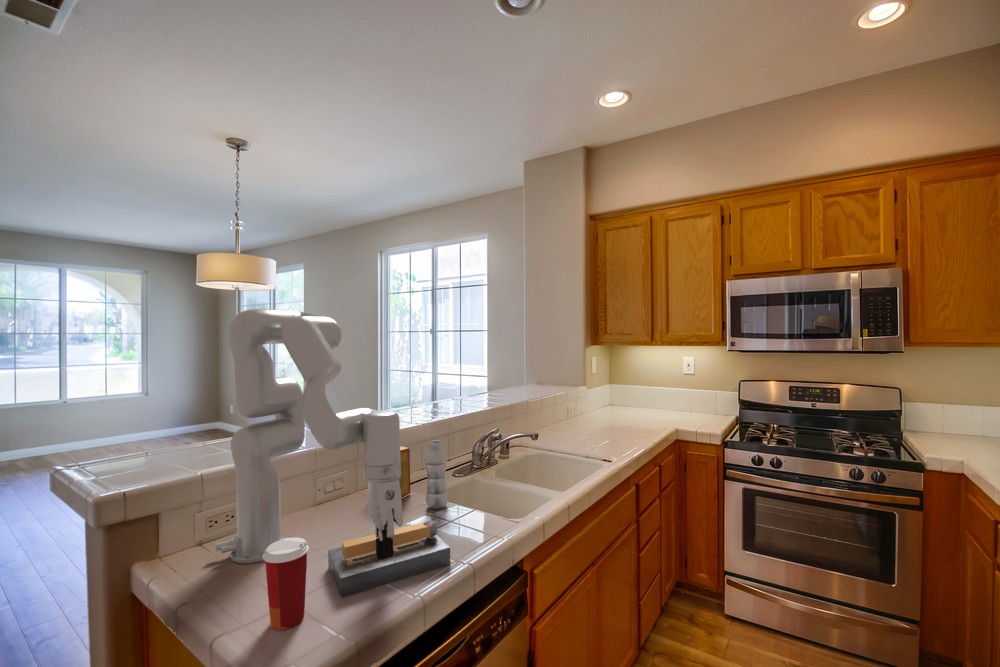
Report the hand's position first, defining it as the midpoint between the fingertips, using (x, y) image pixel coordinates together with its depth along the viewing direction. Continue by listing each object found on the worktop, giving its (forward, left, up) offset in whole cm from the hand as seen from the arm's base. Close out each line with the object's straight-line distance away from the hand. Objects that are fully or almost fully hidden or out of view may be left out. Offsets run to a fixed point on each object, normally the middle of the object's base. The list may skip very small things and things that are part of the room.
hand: (384, 556), depth 95 cm
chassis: (+3, +7, -6) cm, 9 cm away
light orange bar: (+4, +7, -1) cm, 8 cm away
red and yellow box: (+18, +52, -6) cm, 55 cm away
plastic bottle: (+26, +34, -6) cm, 43 cm away
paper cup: (-19, -2, -6) cm, 20 cm away
